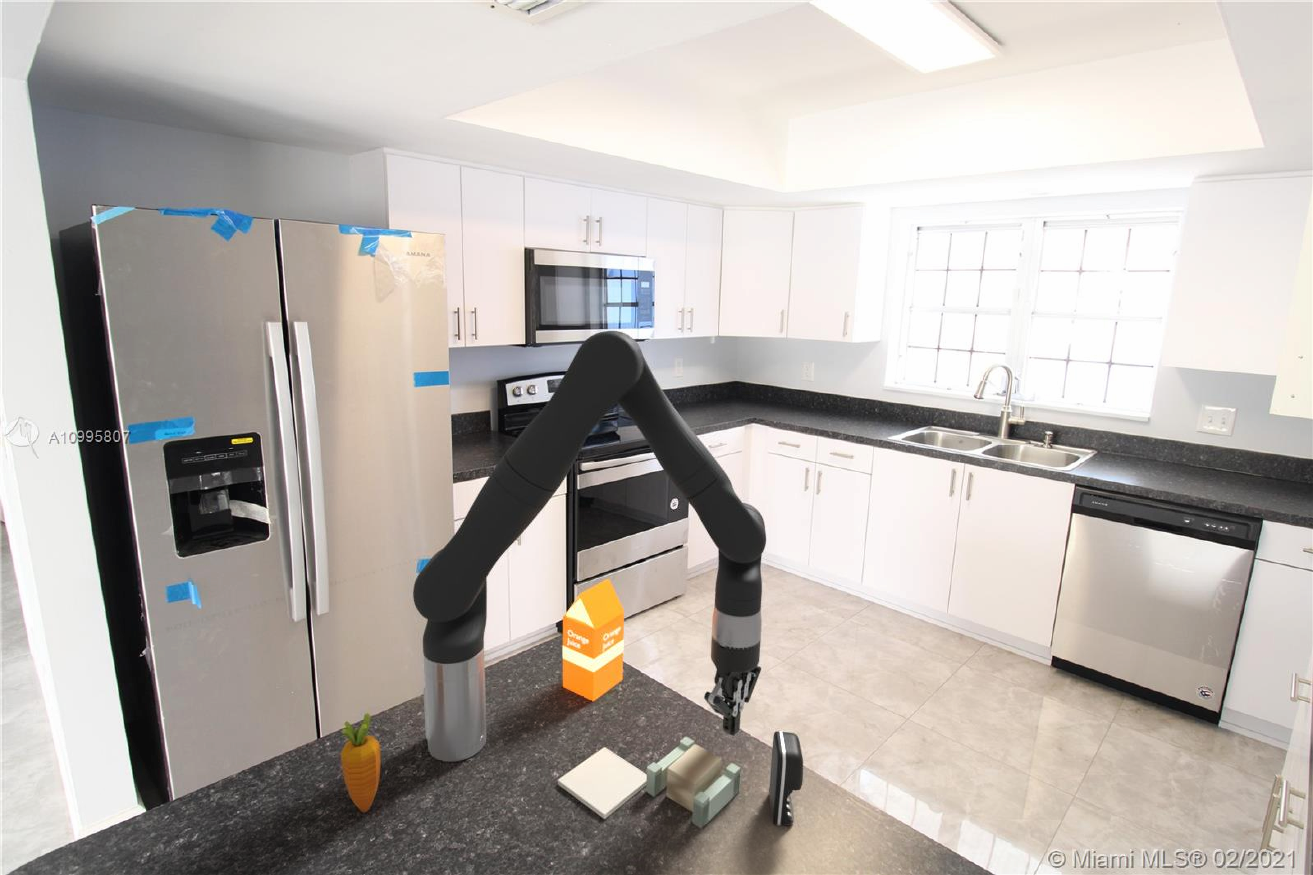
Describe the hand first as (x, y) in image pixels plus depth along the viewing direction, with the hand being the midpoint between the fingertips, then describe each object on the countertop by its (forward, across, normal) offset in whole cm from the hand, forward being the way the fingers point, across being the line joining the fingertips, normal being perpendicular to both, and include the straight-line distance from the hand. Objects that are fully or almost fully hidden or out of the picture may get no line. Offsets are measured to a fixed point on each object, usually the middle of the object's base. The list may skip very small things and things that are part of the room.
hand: (731, 731), depth 106 cm
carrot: (+5, +44, -32) cm, 55 cm away
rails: (+5, +10, 0) cm, 11 cm away
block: (+5, +9, 0) cm, 11 cm away
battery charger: (+6, +3, +12) cm, 13 cm away
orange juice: (+5, 0, -31) cm, 32 cm away
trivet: (+5, +17, -11) cm, 21 cm away
